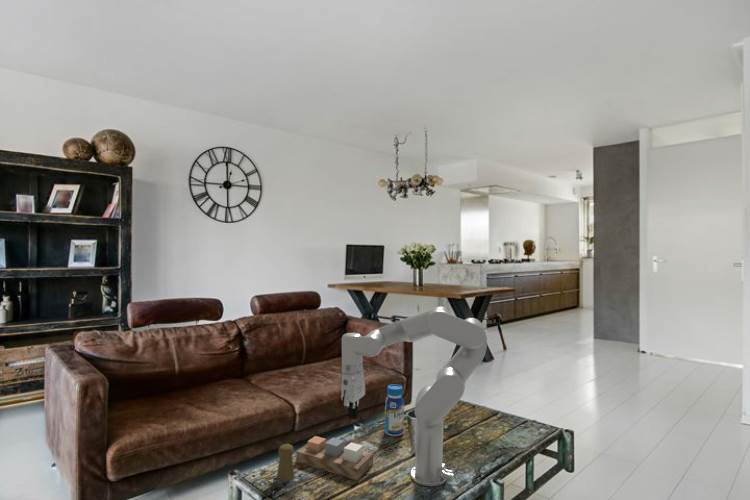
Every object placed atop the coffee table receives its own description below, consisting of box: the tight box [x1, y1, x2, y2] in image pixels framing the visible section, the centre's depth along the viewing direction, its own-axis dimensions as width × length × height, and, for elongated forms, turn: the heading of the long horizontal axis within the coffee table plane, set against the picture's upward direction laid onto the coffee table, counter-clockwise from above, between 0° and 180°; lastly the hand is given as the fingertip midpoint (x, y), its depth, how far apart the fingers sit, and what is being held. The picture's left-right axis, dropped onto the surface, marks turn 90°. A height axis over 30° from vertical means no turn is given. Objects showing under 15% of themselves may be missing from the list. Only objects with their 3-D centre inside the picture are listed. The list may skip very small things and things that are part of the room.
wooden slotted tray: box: [295, 440, 374, 481], centre depth 160 cm, size 26×12×4 cm, turn 63°
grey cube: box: [325, 437, 345, 458], centre depth 159 cm, size 5×5×5 cm
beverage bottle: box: [384, 383, 405, 437], centre depth 186 cm, size 8×8×20 cm
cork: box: [276, 443, 295, 483], centre depth 150 cm, size 6×6×11 cm
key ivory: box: [344, 442, 364, 464], centre depth 156 cm, size 5×5×5 cm
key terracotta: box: [307, 435, 327, 453], centre depth 163 cm, size 5×5×5 cm
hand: (353, 417), depth 156 cm, fingers closed
